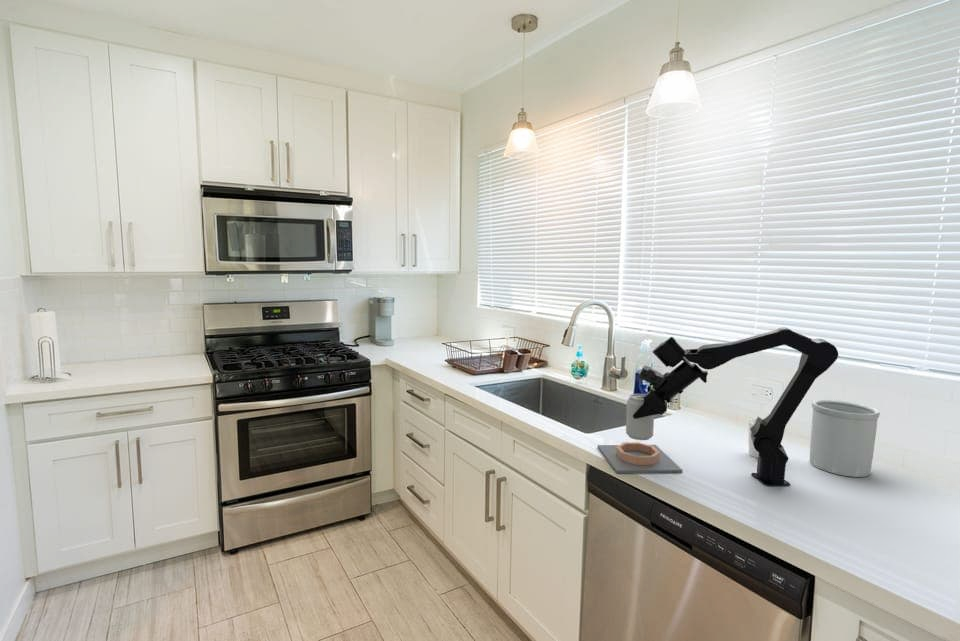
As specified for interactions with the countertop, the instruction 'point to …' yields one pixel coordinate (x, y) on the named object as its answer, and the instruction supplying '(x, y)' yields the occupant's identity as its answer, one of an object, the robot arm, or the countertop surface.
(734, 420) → the countertop surface
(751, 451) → the white cup
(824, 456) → the utensil holder
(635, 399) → the can
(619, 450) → the seat plate
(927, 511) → the countertop surface
